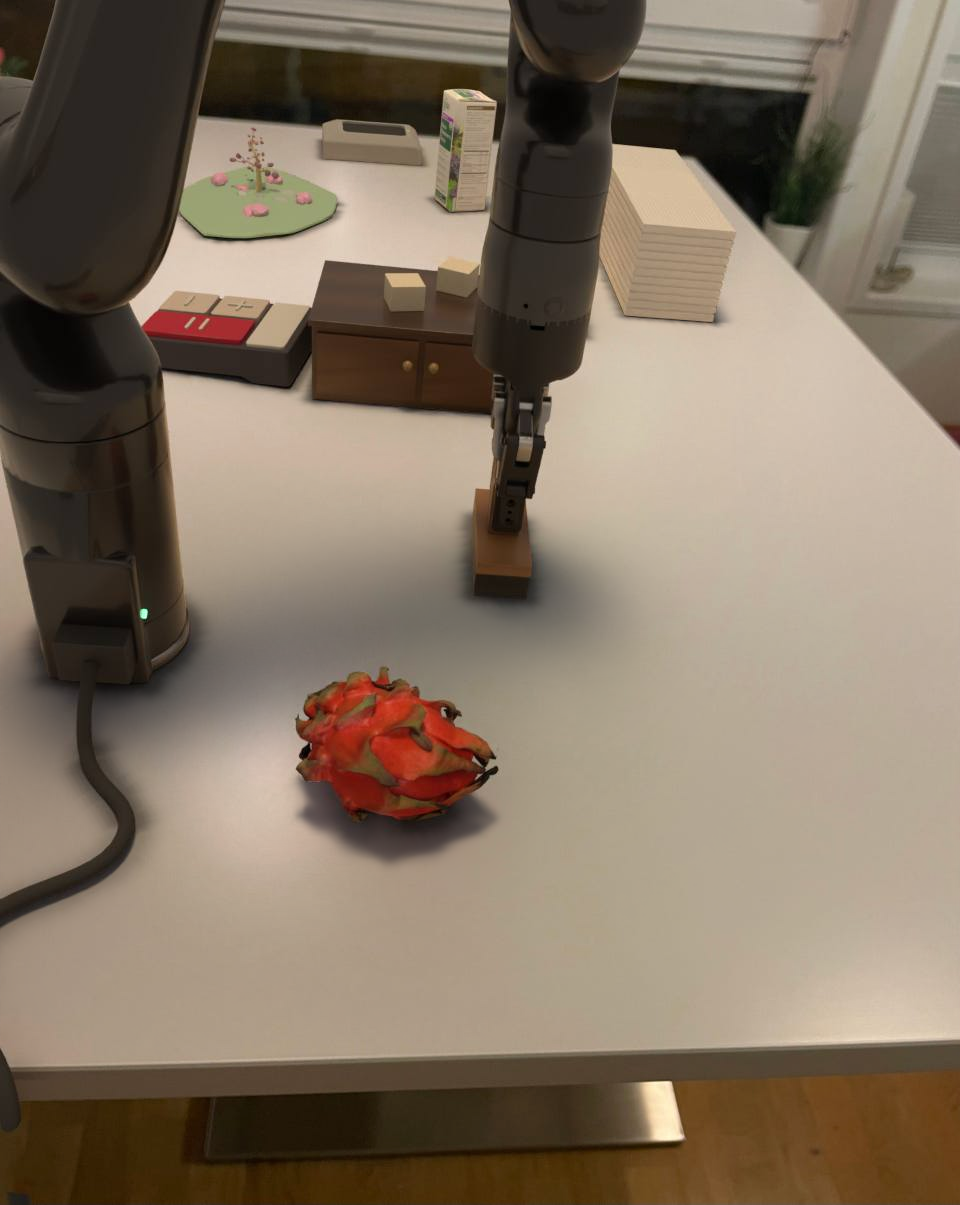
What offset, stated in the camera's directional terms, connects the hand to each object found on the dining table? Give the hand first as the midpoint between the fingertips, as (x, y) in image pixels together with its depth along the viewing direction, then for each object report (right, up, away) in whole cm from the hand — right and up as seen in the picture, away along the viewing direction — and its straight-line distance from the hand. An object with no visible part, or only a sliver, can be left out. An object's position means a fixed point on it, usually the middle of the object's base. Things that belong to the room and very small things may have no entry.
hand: (504, 511), depth 76 cm
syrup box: (-5, +50, +68) cm, 84 cm away
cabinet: (-8, +16, +25) cm, 31 cm away
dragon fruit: (-7, -18, -16) cm, 25 cm away
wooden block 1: (-9, +21, +19) cm, 30 cm away
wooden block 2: (-4, +24, +23) cm, 33 cm away
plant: (-31, +45, +58) cm, 80 cm away
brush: (0, -3, +3) cm, 4 cm away
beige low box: (-19, +64, +83) cm, 106 cm away
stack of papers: (+19, +37, +56) cm, 69 cm away
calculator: (-27, +18, +25) cm, 41 cm away
